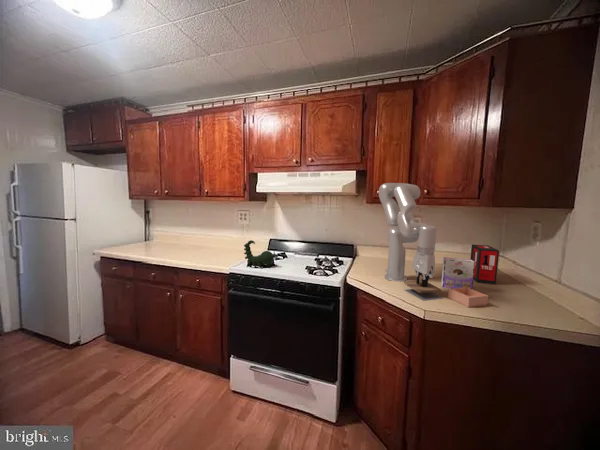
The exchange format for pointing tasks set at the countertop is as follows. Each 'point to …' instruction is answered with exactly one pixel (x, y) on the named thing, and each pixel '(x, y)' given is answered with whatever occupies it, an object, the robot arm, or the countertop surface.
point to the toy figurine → (260, 259)
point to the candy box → (457, 273)
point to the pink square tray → (467, 297)
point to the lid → (419, 288)
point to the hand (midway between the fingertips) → (421, 284)
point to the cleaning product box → (485, 263)
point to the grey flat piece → (424, 295)
